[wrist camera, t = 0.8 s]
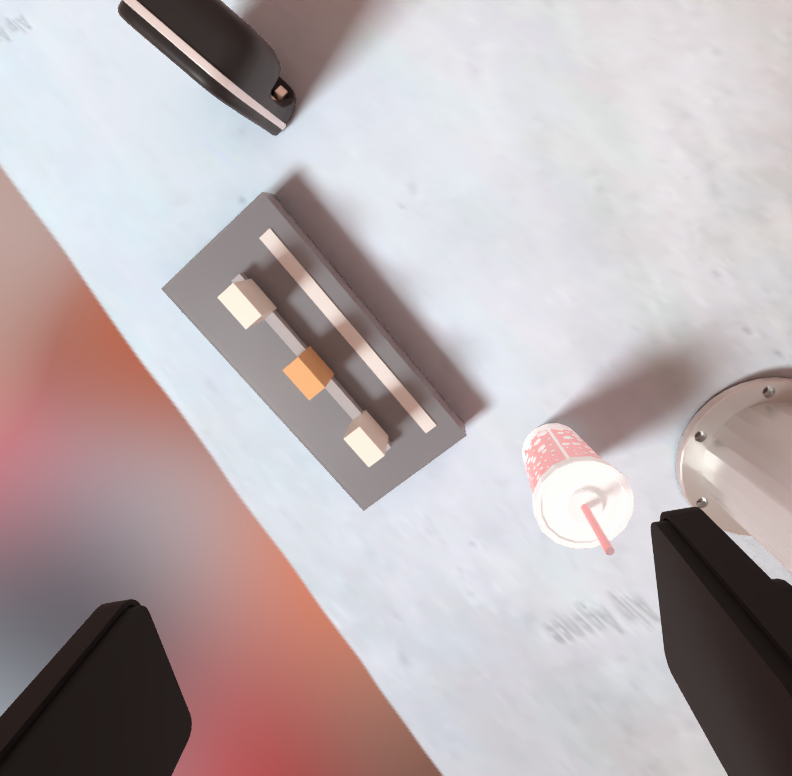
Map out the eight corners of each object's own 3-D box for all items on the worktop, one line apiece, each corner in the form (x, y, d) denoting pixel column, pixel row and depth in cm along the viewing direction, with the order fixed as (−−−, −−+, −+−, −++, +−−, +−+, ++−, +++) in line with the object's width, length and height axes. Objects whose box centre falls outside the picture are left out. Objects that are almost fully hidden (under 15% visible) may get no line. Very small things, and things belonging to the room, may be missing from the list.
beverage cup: (521, 493, 43) (563, 610, 30) (504, 424, 42) (540, 513, 28) (598, 476, 42) (677, 588, 29) (583, 405, 41) (659, 487, 27)
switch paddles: (246, 269, 37) (225, 274, 33) (395, 441, 40) (391, 463, 36) (231, 283, 37) (209, 288, 33) (380, 452, 40) (375, 475, 36)
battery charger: (313, 93, 36) (263, 31, 25) (280, 141, 37) (218, 101, 26) (229, 19, 35) (139, -79, 24) (197, 70, 36) (97, -3, 25)
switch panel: (273, 194, 38) (262, 191, 36) (464, 424, 42) (466, 436, 39) (177, 285, 40) (160, 288, 38) (367, 495, 44) (363, 511, 42)
